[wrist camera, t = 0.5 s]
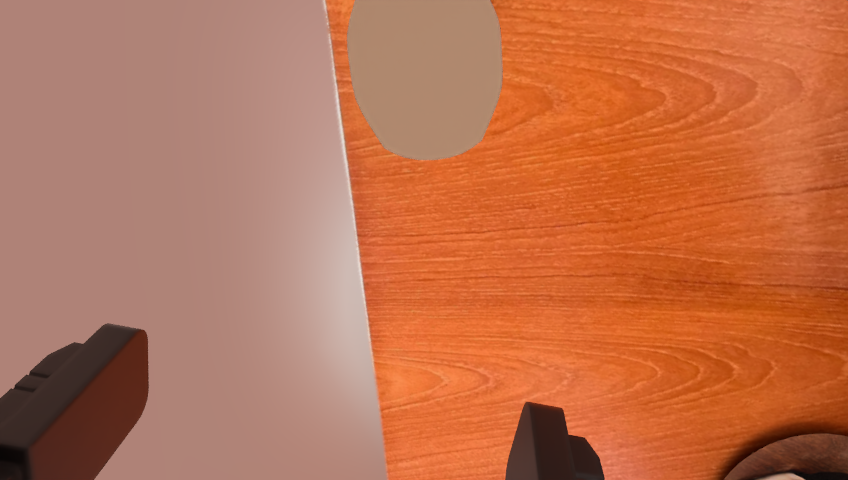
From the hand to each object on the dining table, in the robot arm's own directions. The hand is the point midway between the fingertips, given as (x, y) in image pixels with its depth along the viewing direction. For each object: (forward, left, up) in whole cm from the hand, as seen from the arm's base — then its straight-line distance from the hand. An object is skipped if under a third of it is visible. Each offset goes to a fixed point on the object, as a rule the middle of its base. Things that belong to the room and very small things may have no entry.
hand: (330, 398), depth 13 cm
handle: (-6, -1, -25) cm, 26 cm away
